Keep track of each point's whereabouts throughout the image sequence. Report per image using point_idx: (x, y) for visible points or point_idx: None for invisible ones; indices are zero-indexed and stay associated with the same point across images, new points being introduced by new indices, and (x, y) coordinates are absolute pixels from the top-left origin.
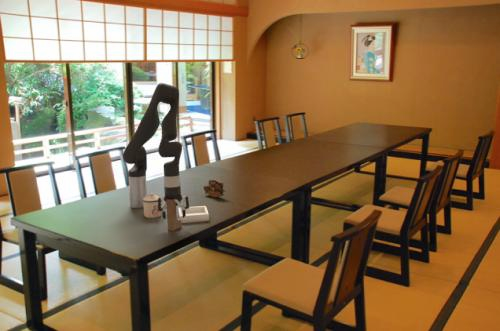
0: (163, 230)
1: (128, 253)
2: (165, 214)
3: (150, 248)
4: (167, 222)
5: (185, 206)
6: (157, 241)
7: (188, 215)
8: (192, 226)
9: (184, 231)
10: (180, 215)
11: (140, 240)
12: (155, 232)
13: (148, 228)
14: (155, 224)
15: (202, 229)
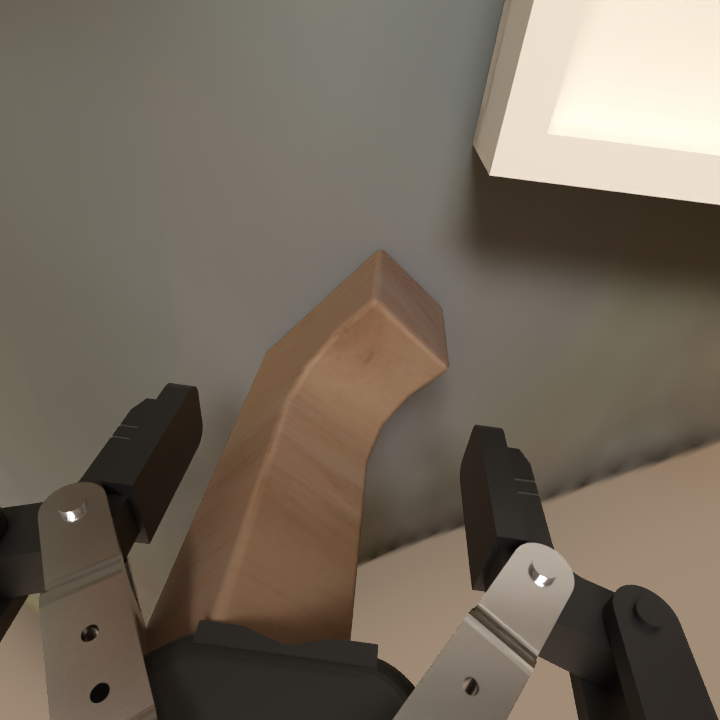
0: (215, 341)
1: (36, 597)
2: (169, 501)
3: (153, 591)
4: (238, 416)
5: (564, 660)
6: (184, 531)
7: (673, 188)
8: (577, 341)
9: (433, 439)
10: (519, 121)
11: (41, 478)
12: (133, 364)
13: (6, 204)
14: (61, 41)
15: (627, 455)
